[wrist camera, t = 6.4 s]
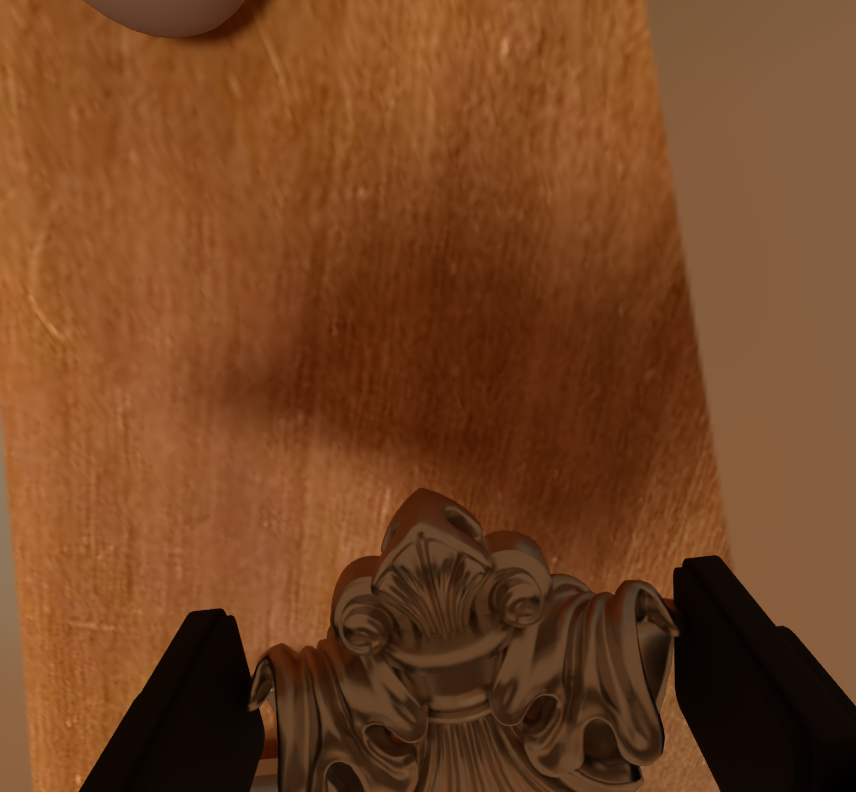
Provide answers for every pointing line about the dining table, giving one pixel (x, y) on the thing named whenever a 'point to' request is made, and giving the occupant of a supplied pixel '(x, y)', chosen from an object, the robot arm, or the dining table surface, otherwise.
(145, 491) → the dining table surface
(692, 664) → the robot arm
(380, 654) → the ornament
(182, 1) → the egg
